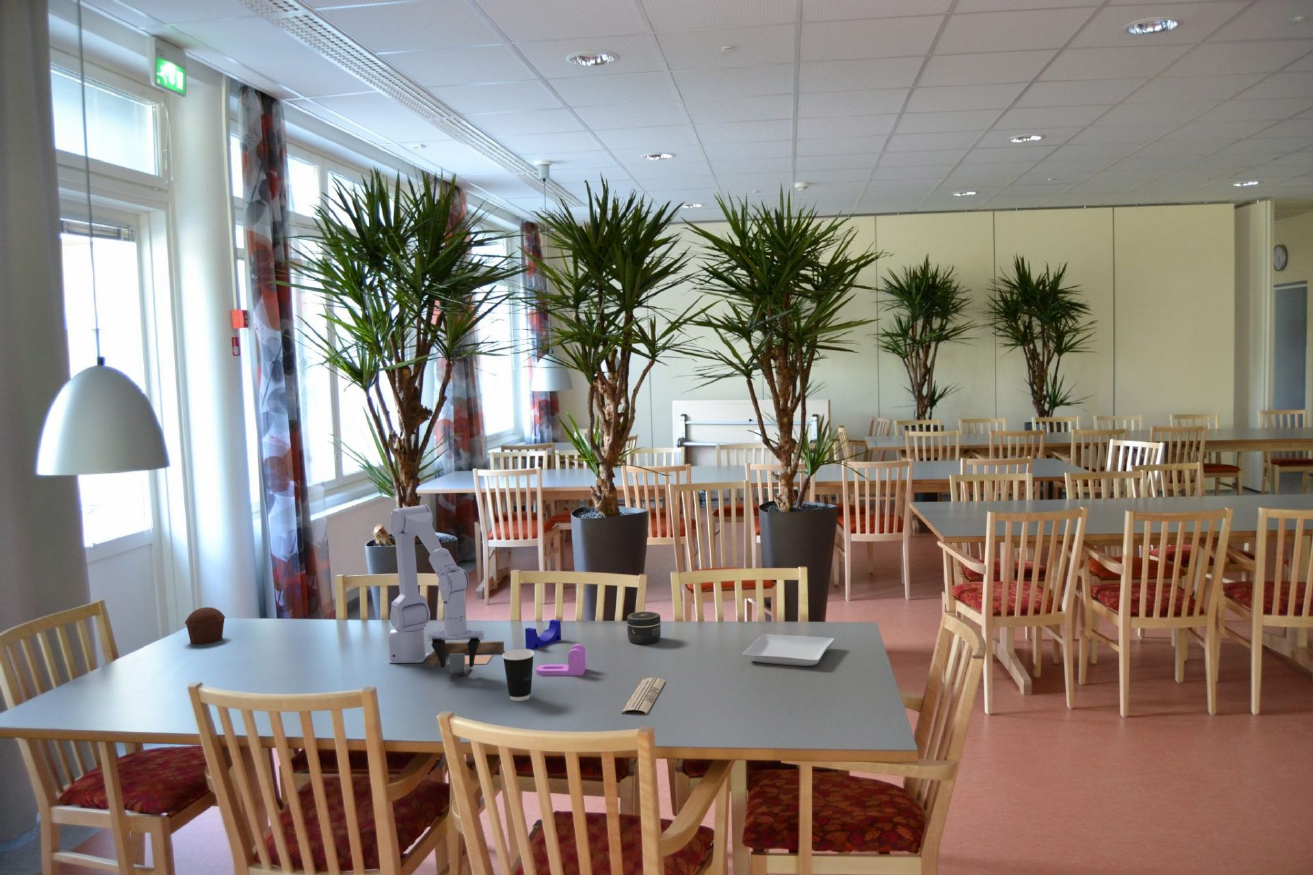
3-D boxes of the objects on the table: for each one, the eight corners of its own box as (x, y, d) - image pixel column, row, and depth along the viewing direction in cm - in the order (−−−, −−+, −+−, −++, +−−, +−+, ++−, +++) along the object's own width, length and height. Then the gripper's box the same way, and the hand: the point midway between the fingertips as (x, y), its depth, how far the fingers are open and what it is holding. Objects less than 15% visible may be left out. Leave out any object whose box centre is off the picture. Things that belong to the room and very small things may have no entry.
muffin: (201, 634, 310) (199, 603, 309) (233, 635, 309) (231, 604, 308) (178, 645, 298) (176, 613, 298) (211, 645, 297) (209, 613, 296)
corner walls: (428, 668, 267) (427, 657, 267) (442, 652, 282) (441, 642, 282) (493, 667, 266) (492, 656, 266) (504, 651, 281) (503, 641, 281)
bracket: (585, 669, 263) (584, 643, 262) (582, 675, 257) (581, 649, 257) (538, 669, 264) (537, 644, 263) (534, 676, 258) (532, 650, 258)
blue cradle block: (550, 638, 295) (549, 618, 294) (561, 640, 292) (560, 620, 291) (522, 648, 285) (521, 627, 285) (533, 650, 282) (532, 629, 282)
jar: (620, 642, 287) (619, 616, 287) (640, 634, 295) (639, 609, 295) (648, 647, 281) (647, 621, 281) (667, 638, 290) (667, 613, 289)
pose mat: (447, 664, 270) (447, 664, 270) (454, 656, 278) (454, 655, 278) (486, 664, 269) (486, 663, 269) (492, 655, 277) (492, 655, 277)
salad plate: (741, 665, 263) (740, 652, 263) (762, 643, 282) (762, 632, 282) (818, 672, 255) (818, 659, 255) (835, 649, 274) (835, 637, 274)
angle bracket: (464, 676, 259) (463, 654, 259) (449, 676, 259) (448, 654, 259) (470, 668, 266) (469, 647, 266) (456, 668, 266) (455, 647, 266)
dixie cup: (537, 701, 238) (536, 656, 237) (505, 704, 236) (503, 659, 235) (534, 690, 246) (532, 647, 245) (502, 694, 244) (500, 650, 243)
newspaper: (642, 684, 251) (642, 677, 250) (669, 684, 249) (669, 678, 249) (621, 716, 228) (621, 708, 227) (651, 717, 226) (651, 710, 226)
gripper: (423, 620, 255) (426, 671, 256) (478, 619, 254) (481, 670, 255) (431, 613, 262) (433, 663, 263) (484, 612, 261) (487, 662, 262)
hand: (457, 666), depth 259 cm, fingers open, 7 cm apart
